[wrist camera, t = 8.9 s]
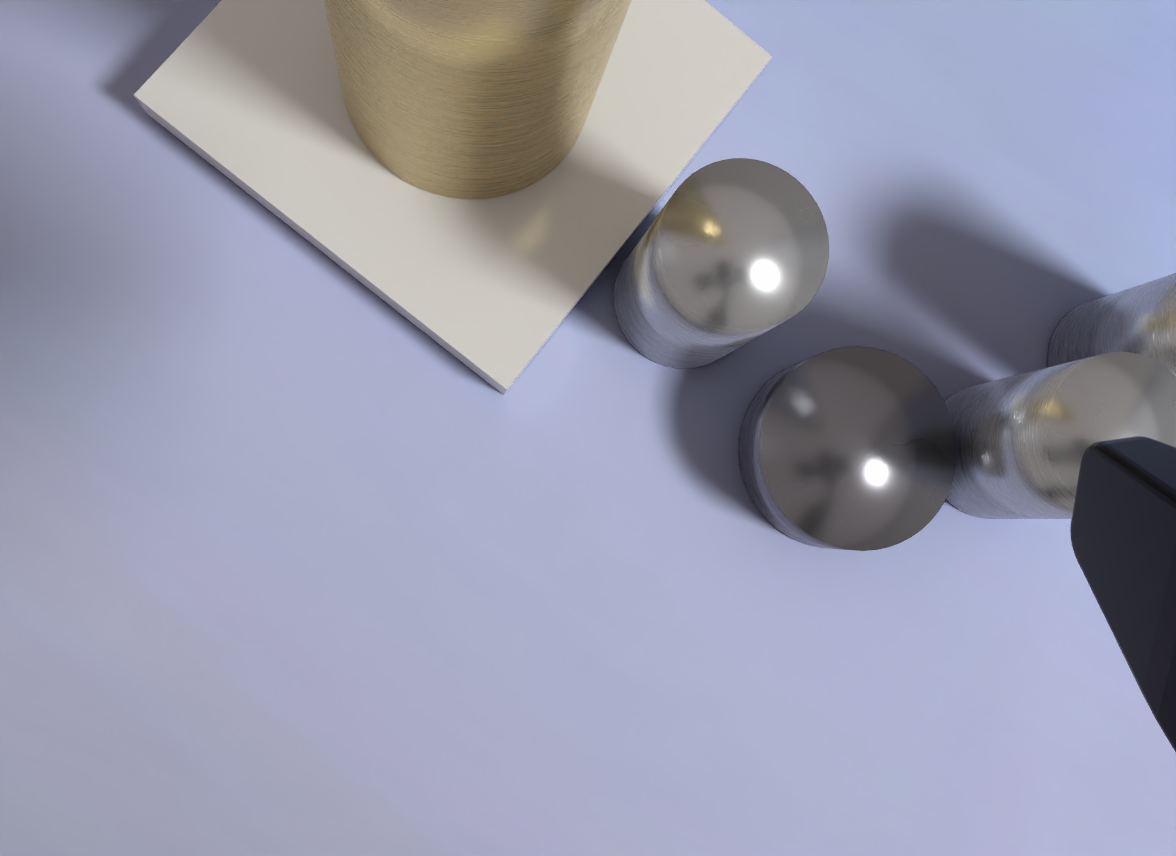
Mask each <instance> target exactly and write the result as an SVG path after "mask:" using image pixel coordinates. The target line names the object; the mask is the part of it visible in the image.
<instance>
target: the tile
mask: <svg viewBox="0 0 1176 856" xmlns="http://www.w3.org/2000/svg"><path fill="white" fill-rule="evenodd" d="M771 58H772V56H771V55H770V54H768V53H767V52H766V51H765V50H764V49H762V48H761V47H760V46H759V45H758V44H756V43H755V42H754V41H753V40H752V39H750V38H749V37H748V36H747V35H746V34H744V33H743V32H742V31H741V30H740V29H738V28H737V27H736V26H735V25H733V24H732V23H731V22H730V21H729V20H727V19H726V18H725V17H724V16H723V15H721V14H720V13H719V12H718V11H717V10H715V9H714V8H713V7H712V6H711V5H709V4H708V3H707V2H706V1H705V0H632V1H631V3H630V6H629V9H628V11H627V14H626V16H625V19H624V22H623V24H622V27H621V30H620V32H619V35H618V37H617V40H616V43H615V45H614V48H613V50H612V53H611V56H610V58H609V61H608V64H607V66H606V69H605V71H604V74H603V77H602V79H601V82H600V84H599V87H598V90H597V92H596V95H595V98H594V100H593V103H592V105H591V108H590V111H589V113H588V116H587V119H586V121H585V124H584V126H583V129H582V131H581V133H580V135H579V137H578V139H577V141H576V143H575V145H574V146H573V148H572V149H571V151H570V152H569V153H568V155H567V156H566V157H565V158H564V160H563V161H562V162H561V163H560V164H559V165H558V166H557V167H556V168H555V169H554V170H553V171H551V172H550V173H549V174H548V175H546V176H545V177H544V178H542V179H541V180H539V181H538V182H536V183H534V184H533V185H531V186H529V187H527V188H524V189H522V190H520V191H518V192H515V193H512V194H508V195H505V196H501V197H495V198H489V199H472V200H467V199H457V198H450V197H445V196H441V195H437V194H433V193H431V192H428V191H425V190H422V189H420V188H418V187H416V186H414V185H412V184H410V183H408V182H406V181H404V180H403V179H401V178H400V177H398V176H397V175H395V174H394V173H392V172H391V171H390V170H388V169H387V168H386V167H385V166H384V165H383V164H382V163H381V162H379V161H378V160H377V159H376V157H375V156H374V155H373V154H372V153H371V152H370V151H369V149H368V148H367V147H366V146H365V144H364V143H363V141H362V140H361V138H360V137H359V135H358V134H357V132H356V130H355V128H354V126H353V124H352V122H351V120H350V117H349V114H348V111H347V109H346V106H345V102H344V97H343V92H342V87H341V82H340V77H339V72H338V67H337V62H336V57H335V52H334V48H333V43H332V38H331V33H330V28H329V23H328V18H327V13H326V8H325V3H324V0H221V1H220V2H219V4H218V5H217V6H216V7H215V8H214V9H213V10H212V11H211V12H210V13H209V14H208V15H207V16H206V18H205V19H204V20H203V21H202V22H201V23H200V24H199V25H198V26H197V27H196V28H195V29H194V30H193V32H192V33H191V34H190V35H189V36H188V37H187V38H186V39H185V40H184V41H183V42H182V43H181V44H180V46H179V47H178V48H177V49H176V50H175V51H174V52H173V53H172V54H171V55H170V56H169V57H168V58H167V60H166V61H165V62H164V63H163V64H162V65H161V66H160V67H159V68H158V69H157V70H156V71H155V72H154V74H153V75H152V76H151V77H150V78H149V79H148V80H147V81H146V82H145V83H144V84H143V85H142V86H141V88H140V89H139V90H138V91H137V92H136V93H135V94H134V96H135V98H136V99H137V101H138V102H139V103H140V105H141V106H142V107H143V109H144V110H145V112H146V113H147V114H148V115H149V116H151V117H152V118H153V119H154V120H156V121H157V122H158V123H159V124H161V125H162V126H163V127H164V128H166V129H167V130H168V131H170V132H171V133H172V134H173V135H175V136H176V137H177V138H178V139H180V140H181V141H182V142H184V143H185V144H186V145H187V146H189V147H190V148H191V149H192V150H194V151H195V152H196V153H197V154H199V155H200V156H201V157H203V158H204V159H205V160H206V161H208V162H209V163H210V164H211V165H213V166H214V167H215V168H216V169H218V170H219V171H220V172H222V173H223V174H224V175H225V176H227V177H228V178H229V179H230V180H232V181H233V182H234V183H236V184H237V185H238V186H239V187H241V188H242V189H243V190H244V191H246V192H247V193H248V194H249V195H251V196H252V197H253V198H255V199H256V200H257V201H258V202H260V203H261V204H262V205H263V206H265V207H266V208H267V209H269V210H270V211H271V212H272V213H274V214H275V215H276V216H277V217H279V218H280V219H281V220H282V221H284V222H285V223H286V224H288V225H289V226H290V227H291V228H293V229H294V230H295V231H296V232H298V233H299V234H300V235H301V236H303V237H304V238H305V239H307V240H308V241H309V242H310V243H312V244H313V245H314V246H315V247H317V248H318V249H319V250H321V251H322V252H323V253H324V254H326V255H327V256H328V257H329V258H331V259H332V260H333V261H334V262H336V263H337V264H338V265H340V266H341V267H342V268H343V269H345V270H346V271H347V272H348V273H350V274H351V275H352V276H353V277H355V278H356V279H357V280H359V281H360V282H361V283H362V284H364V285H365V286H366V287H367V288H369V289H370V290H371V291H373V292H374V293H375V294H376V295H378V296H379V297H380V298H381V299H383V300H384V301H385V302H386V303H388V304H389V305H390V306H392V307H393V308H394V309H395V310H397V311H398V312H399V313H400V314H402V315H403V316H404V317H405V318H407V319H408V320H409V321H411V322H412V323H413V324H414V325H416V326H417V327H418V328H419V329H421V330H422V331H423V332H425V333H426V334H427V335H428V336H430V337H431V338H432V339H433V340H435V341H436V342H437V343H438V344H440V345H441V346H442V347H444V348H445V349H446V350H447V351H449V352H450V353H451V354H452V355H454V356H455V357H456V358H458V359H459V360H460V361H461V362H463V363H464V364H465V365H466V366H468V367H469V368H470V369H471V370H473V371H474V372H475V373H477V374H478V375H479V376H480V377H482V378H483V379H484V380H485V381H487V382H488V383H489V384H490V385H492V386H493V387H494V388H496V389H497V390H498V391H499V392H501V393H502V394H503V395H504V394H505V393H506V392H507V391H508V389H509V388H510V387H511V386H512V384H513V383H514V382H515V380H516V379H517V378H518V377H519V375H520V374H521V373H522V372H523V370H524V369H525V368H526V367H527V365H528V364H529V363H530V362H531V360H532V359H533V358H534V357H535V355H536V354H537V353H538V352H539V350H540V349H541V348H542V347H543V345H544V344H545V343H546V342H547V340H548V339H549V338H550V337H551V335H552V334H553V333H554V332H555V330H556V329H557V328H558V327H559V325H560V324H561V323H562V322H563V320H564V319H565V318H566V317H567V315H568V314H569V313H570V311H571V310H572V309H573V308H574V306H575V305H576V304H577V303H578V301H579V300H580V299H581V298H582V296H583V295H584V294H585V293H586V291H587V290H588V289H589V288H590V286H591V285H592V284H593V283H594V281H595V280H596V279H597V278H598V276H599V275H600V274H601V273H602V271H603V270H604V269H605V268H606V266H607V265H608V264H609V263H610V261H611V260H612V259H613V258H614V256H615V255H616V254H617V253H618V251H619V250H620V249H621V248H622V246H623V245H624V244H625V243H626V241H627V240H628V239H629V237H630V236H631V235H632V234H633V232H634V231H635V230H636V229H637V227H638V226H639V225H640V224H641V222H642V221H643V220H644V219H645V217H646V216H647V215H648V214H649V212H650V211H651V210H652V209H653V207H654V206H655V205H656V204H657V202H658V201H659V200H660V199H661V197H662V196H663V195H664V194H665V192H666V191H667V190H668V189H669V187H670V186H671V185H672V184H673V182H674V181H675V180H676V179H677V177H678V176H679V175H680V174H681V172H682V171H683V170H684V169H685V167H686V166H687V165H688V163H689V162H690V161H691V160H692V158H693V157H694V156H695V155H696V153H697V152H698V151H699V150H700V148H701V147H702V146H703V145H704V143H705V142H706V141H707V140H708V138H709V137H710V136H711V135H712V133H713V132H714V131H715V130H716V128H717V127H718V126H719V125H720V123H721V122H722V121H723V120H724V118H725V117H726V116H727V115H728V113H729V112H730V111H731V110H732V108H733V107H734V106H735V105H736V103H737V102H738V101H739V100H740V98H741V97H742V96H743V95H744V93H745V92H746V91H747V89H748V88H749V87H750V86H751V84H752V83H753V82H754V81H755V79H756V78H757V77H758V76H759V74H760V73H761V72H762V70H763V69H764V67H765V66H766V65H767V63H768V62H769V61H770V59H771Z"/></svg>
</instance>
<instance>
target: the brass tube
mask: <svg viewBox="0 0 1176 856" xmlns="http://www.w3.org/2000/svg"><path fill="white" fill-rule="evenodd" d="M631 1H632V0H324V3H325V8H326V13H327V18H328V23H329V28H330V33H331V38H332V43H333V48H334V52H335V57H336V62H337V67H338V72H339V77H340V82H341V87H342V92H343V97H344V102H345V106H346V109H347V111H348V114H349V117H350V120H351V122H352V124H353V126H354V128H355V130H356V132H357V134H358V135H359V137H360V138H361V140H362V141H363V143H364V144H365V146H366V147H367V148H368V149H369V151H370V152H371V153H372V154H373V155H374V156H375V157H376V159H377V160H378V161H379V162H381V163H382V164H383V165H384V166H385V167H386V168H387V169H388V170H390V171H391V172H392V173H394V174H395V175H397V176H398V177H400V178H401V179H403V180H404V181H406V182H408V183H410V184H412V185H414V186H416V187H418V188H420V189H422V190H425V191H428V192H431V193H433V194H437V195H441V196H445V197H450V198H457V199H467V200H472V199H489V198H495V197H501V196H505V195H508V194H512V193H515V192H518V191H520V190H522V189H524V188H527V187H529V186H531V185H533V184H534V183H536V182H538V181H539V180H541V179H542V178H544V177H545V176H546V175H548V174H549V173H550V172H551V171H553V170H554V169H555V168H556V167H557V166H558V165H559V164H560V163H561V162H562V161H563V160H564V158H565V157H566V156H567V155H568V153H569V152H570V151H571V149H572V148H573V146H574V145H575V143H576V141H577V139H578V137H579V135H580V133H581V131H582V129H583V126H584V124H585V121H586V119H587V116H588V113H589V111H590V108H591V105H592V103H593V100H594V98H595V95H596V92H597V90H598V87H599V84H600V82H601V79H602V77H603V74H604V71H605V69H606V66H607V64H608V61H609V58H610V56H611V53H612V50H613V48H614V45H615V43H616V40H617V37H618V35H619V32H620V30H621V27H622V24H623V22H624V19H625V16H626V14H627V11H628V9H629V6H630V3H631Z"/></svg>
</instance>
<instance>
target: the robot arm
mask: <svg viewBox="0 0 1176 856" xmlns="http://www.w3.org/2000/svg"><path fill="white" fill-rule="evenodd" d="M1071 541H1072V547H1073V550H1074V553H1075V556H1076V558H1077V561H1078V563H1079V565H1080V567H1081V569H1082V571H1083V573H1084V575H1085V577H1086V579H1087V581H1088V583H1089V585H1090V587H1091V589H1092V591H1093V593H1094V596H1095V598H1096V600H1097V602H1098V604H1099V606H1100V608H1101V610H1102V612H1103V614H1104V616H1105V618H1106V620H1107V622H1108V624H1109V626H1110V628H1111V630H1112V632H1113V634H1114V636H1115V639H1116V641H1117V643H1118V645H1119V647H1120V649H1121V651H1122V653H1123V655H1124V657H1125V659H1126V661H1127V663H1128V665H1129V667H1130V669H1131V671H1132V673H1133V675H1134V677H1135V679H1136V682H1137V684H1138V686H1139V688H1140V690H1141V692H1142V694H1143V696H1144V698H1145V699H1146V701H1147V703H1148V705H1149V707H1150V709H1151V711H1152V713H1153V715H1154V716H1155V718H1156V720H1157V722H1158V723H1159V725H1160V727H1161V728H1162V730H1163V732H1164V733H1165V735H1166V737H1167V738H1168V740H1169V742H1170V743H1171V745H1172V747H1173V748H1174V750H1175V752H1176V447H1173V446H1171V445H1168V444H1165V443H1162V442H1160V441H1157V440H1154V439H1151V438H1148V437H1144V436H1134V437H1127V438H1120V439H1113V440H1106V441H1099V442H1095V443H1093V444H1092V445H1090V446H1089V447H1088V448H1087V449H1086V450H1085V452H1084V454H1083V456H1082V460H1081V464H1080V471H1079V477H1078V483H1077V489H1076V496H1075V502H1074V508H1073V514H1072V521H1071Z"/></svg>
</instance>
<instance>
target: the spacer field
mask: <svg viewBox="0 0 1176 856" xmlns="http://www.w3.org/2000/svg"><path fill="white" fill-rule="evenodd" d="M828 258H829V240H828V233H827V228H826V224H825V221H824V218H823V215H822V213H821V211H820V209H819V207H818V205H817V203H816V202H815V200H814V198H813V197H812V195H811V194H810V193H809V192H808V191H807V189H806V188H805V187H804V186H803V185H802V184H801V183H800V182H799V181H798V180H797V179H796V178H794V177H793V176H791V175H790V174H789V173H787V172H786V171H784V170H782V169H780V168H778V167H777V166H774V165H772V164H769V163H766V162H763V161H759V160H754V159H746V158H734V159H727V160H721V161H718V162H714V163H712V164H709V165H707V166H705V167H703V168H701V169H699V170H698V171H696V172H694V173H693V174H692V175H691V176H689V177H688V178H687V179H686V180H685V181H684V182H683V183H682V184H681V185H680V186H679V187H678V188H677V190H676V191H675V193H674V194H673V195H672V197H671V198H670V199H669V201H668V202H667V204H666V205H665V206H664V208H663V209H662V210H661V212H660V213H659V215H658V216H657V217H656V219H655V220H654V221H653V223H652V224H651V226H650V227H649V228H648V230H647V231H646V232H645V234H644V235H643V237H642V238H641V239H640V241H639V242H638V244H637V245H636V246H635V248H634V249H633V250H632V252H631V253H630V255H629V256H628V257H627V259H626V260H625V262H624V263H623V265H622V267H621V269H620V271H619V273H618V276H617V279H616V283H615V288H614V307H615V312H616V317H617V320H618V323H619V325H620V327H621V329H622V332H623V333H624V335H625V336H626V338H627V339H628V341H629V342H630V343H631V344H632V346H633V347H634V348H635V349H636V350H638V351H639V352H640V353H641V354H642V355H644V356H645V357H647V358H648V359H650V360H652V361H654V362H656V363H658V364H661V365H663V366H667V367H671V368H679V369H689V368H696V367H701V366H704V365H707V364H710V363H712V362H714V361H716V360H718V359H720V358H721V357H723V356H725V355H727V354H728V353H730V352H732V351H734V350H735V349H737V348H739V347H741V346H742V345H744V344H746V343H748V342H750V341H751V340H753V339H755V338H757V337H758V336H760V335H762V334H764V333H765V332H767V331H769V330H771V329H772V328H774V327H776V326H778V325H779V324H781V323H783V322H785V321H786V320H788V319H790V318H791V317H793V316H794V315H796V314H797V313H799V312H800V311H801V310H802V309H803V308H804V307H805V306H806V305H807V304H808V303H809V302H810V301H811V300H812V298H813V297H814V296H815V294H816V292H817V291H818V289H819V287H820V285H821V283H822V281H823V279H824V276H825V272H826V269H827V264H828ZM1134 436H1144V437H1148V438H1151V439H1154V440H1157V441H1160V442H1162V443H1165V444H1168V445H1171V446H1173V447H1176V273H1175V274H1172V275H1169V276H1166V277H1163V278H1160V279H1157V280H1154V281H1151V282H1148V283H1145V284H1142V285H1139V286H1136V287H1133V288H1130V289H1127V290H1124V291H1121V292H1118V293H1115V294H1112V295H1109V296H1106V297H1103V298H1100V299H1097V300H1094V301H1091V302H1088V303H1085V304H1082V305H1080V306H1078V307H1076V308H1074V309H1073V310H1072V311H1070V312H1069V313H1068V314H1067V315H1066V316H1065V317H1064V318H1063V319H1062V320H1061V321H1060V323H1059V324H1058V326H1057V327H1056V329H1055V331H1054V333H1053V335H1052V338H1051V341H1050V344H1049V350H1048V368H1044V369H1040V370H1036V371H1032V372H1028V373H1024V374H1020V375H1016V376H1012V377H1008V378H1004V379H999V380H995V381H991V382H987V383H983V384H979V385H975V386H971V387H968V388H965V389H962V390H960V391H958V392H956V393H955V394H953V395H952V396H950V397H949V398H948V399H947V400H945V401H944V400H943V398H942V396H941V395H940V393H939V392H938V390H937V389H936V387H935V386H934V385H933V384H932V382H931V381H930V380H929V379H928V378H927V377H926V376H925V375H924V374H923V373H922V372H921V371H920V370H919V369H918V368H916V367H915V366H913V365H912V364H911V363H909V362H908V361H906V360H904V359H902V358H901V357H899V356H897V355H895V354H892V353H889V352H887V351H884V350H880V349H876V348H871V347H861V346H854V347H842V348H837V349H832V350H829V351H826V352H823V353H821V354H818V355H816V356H814V357H811V358H809V359H807V360H804V361H802V362H800V363H797V364H795V365H793V366H791V367H789V368H787V369H785V370H783V371H781V372H780V373H779V374H777V375H776V376H774V377H773V378H772V379H771V380H770V381H768V382H767V383H766V384H765V385H764V386H763V387H762V389H761V390H760V391H759V392H758V393H757V395H756V396H755V398H754V399H753V401H752V402H751V404H750V406H749V408H748V410H747V413H746V415H745V418H744V421H743V424H742V427H741V433H740V438H739V463H740V468H741V473H742V478H743V481H744V484H745V486H746V489H747V491H748V493H749V495H750V497H751V499H752V501H753V503H754V504H755V506H756V507H757V509H758V510H759V511H760V513H761V514H762V515H763V516H764V517H765V519H766V520H767V521H768V522H770V523H771V524H772V525H773V526H774V527H775V528H776V529H778V530H779V531H781V532H782V533H783V534H785V535H786V536H788V537H790V538H792V539H794V540H796V541H798V542H801V543H804V544H807V545H811V546H815V547H820V548H833V549H846V550H860V551H866V550H877V549H882V548H887V547H890V546H893V545H896V544H898V543H901V542H903V541H905V540H907V539H908V538H910V537H912V536H913V535H915V534H916V533H918V532H919V531H920V530H922V529H923V528H924V527H925V526H926V525H927V524H928V523H929V522H930V521H931V520H932V519H933V518H934V516H935V515H936V514H937V512H938V511H939V510H940V508H941V506H942V505H943V503H944V501H945V500H947V501H948V502H949V503H950V504H951V505H953V506H954V507H956V508H957V509H958V510H960V511H962V512H964V513H966V514H969V515H972V516H975V517H979V518H987V519H1072V514H1073V508H1074V502H1075V496H1076V489H1077V483H1078V477H1079V471H1080V464H1081V460H1082V456H1083V454H1084V452H1085V450H1086V449H1087V448H1088V447H1089V446H1090V445H1092V444H1093V443H1095V442H1099V441H1106V440H1113V439H1120V438H1127V437H1134Z"/></svg>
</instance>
